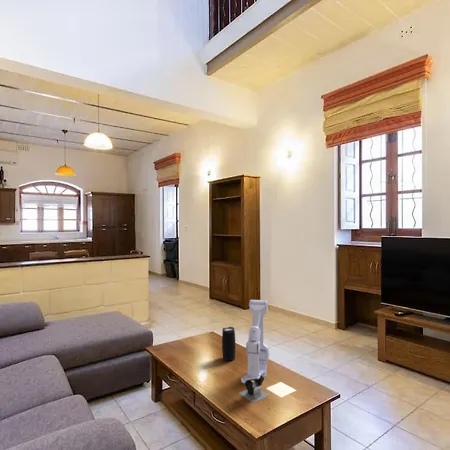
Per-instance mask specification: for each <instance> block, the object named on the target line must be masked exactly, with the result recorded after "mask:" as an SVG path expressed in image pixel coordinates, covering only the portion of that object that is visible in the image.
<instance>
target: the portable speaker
mask: <svg viewBox="0 0 450 450" xmlns="http://www.w3.org/2000/svg"><path fill="white" fill-rule="evenodd" d="M221 347H222V349H221V351H222V358H223V359H222V360H223V361H225V362H227V361H235V360H236V348H237V346H236V333H235V328H234V327H232V326H228V327H223V328H222V334H221Z"/></svg>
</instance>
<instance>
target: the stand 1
mask: <svg viewBox="0 0 450 450" xmlns="http://www.w3.org/2000/svg"><path fill="white" fill-rule="evenodd" d="M246 391H247V389H245V390H243V391H240V392H238V394H239V395H241V396H242V397H243V398H245V399H246V400H248V401H250V402H251V403H256V402H258V401H260V400H262V399H265V398H266V397H269V396H270V394H268V393H267V392H265V391H263V390H262V389H261V393H262V395H261V396H259V397H257V398H254V397H252V396H251V395H249V394H247V392H246Z"/></svg>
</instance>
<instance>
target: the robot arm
mask: <svg viewBox="0 0 450 450" xmlns="http://www.w3.org/2000/svg"><path fill="white" fill-rule="evenodd" d="M268 302H269V301H268V300H267V299H266V300H264V299H250V300H249V303H248V307H249V311H250V314H252V321H251V322H252V323H251V324H252V325H251V327H250V328H249V330H248V331H249V332H248V340H247V341H246V343H245V344H246V345H245V352H246V357H247V373H246V374H245V375H244V376H242V377H241V378H240V381H241V383H243V384H244V385H245V387H246V390H247V391H248V394H249V395H252V387H253V382H251V381H252V380H254V381H255V382H257V383H258V384H260V385H261V386H262V384H263V382H264V380H265V377H266V376H267V375H268V374H267V373H268V371H267V370H268V368H267V366H268V365H267V364H268V361H269V359H270V348H269V346H268V345H267V344H266V343H265V334H264V333H265V331H264V330H265V315H267V314H268V312H269V307H268V305H269V303H268Z"/></svg>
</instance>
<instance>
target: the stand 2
mask: <svg viewBox="0 0 450 450" xmlns="http://www.w3.org/2000/svg"><path fill="white" fill-rule="evenodd" d="M265 389H266V390H267V391H269V392H270V393H273V395H276V396H277V397H279V398H283V397H286V396H288V395H290V394H292V393H294V392H296V391H297V389H295V388H293V387H291V386H289V385H287V384H285V383H284V382H281V381H279V382H277V383H274V384H273V385H270V386H268V387H266V388H265Z"/></svg>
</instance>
